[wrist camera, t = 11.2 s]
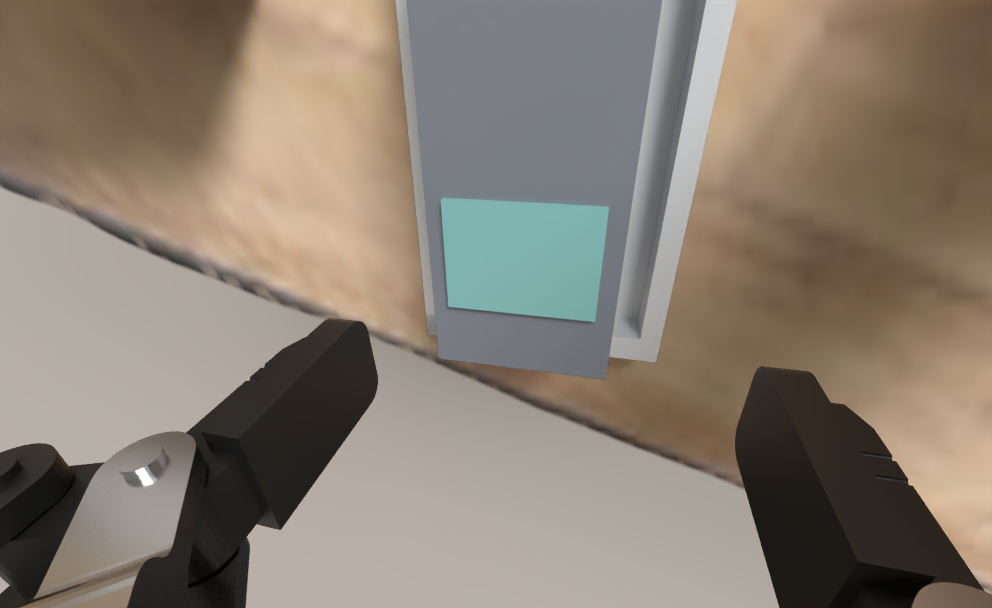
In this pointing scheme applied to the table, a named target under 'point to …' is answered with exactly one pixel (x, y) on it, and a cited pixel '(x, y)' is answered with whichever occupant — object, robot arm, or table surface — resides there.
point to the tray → (660, 173)
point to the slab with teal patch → (529, 171)
